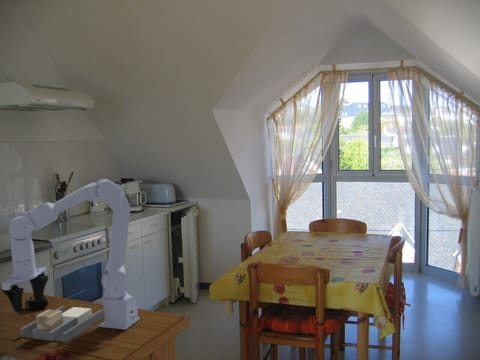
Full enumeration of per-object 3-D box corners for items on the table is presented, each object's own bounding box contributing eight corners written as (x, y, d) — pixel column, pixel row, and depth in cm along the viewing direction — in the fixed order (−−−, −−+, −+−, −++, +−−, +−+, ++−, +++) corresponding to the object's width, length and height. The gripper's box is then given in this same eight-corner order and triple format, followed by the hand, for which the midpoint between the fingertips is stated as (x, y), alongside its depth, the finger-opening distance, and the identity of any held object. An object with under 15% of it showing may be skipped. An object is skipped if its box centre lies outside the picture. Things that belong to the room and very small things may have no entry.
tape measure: (48, 308, 161) (47, 298, 160) (26, 313, 157) (25, 302, 157) (46, 302, 167) (45, 292, 166) (25, 306, 163) (24, 296, 163)
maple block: (63, 323, 140) (62, 310, 140) (51, 330, 135) (50, 317, 135) (49, 322, 142) (48, 309, 141) (37, 329, 137) (36, 315, 137)
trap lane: (104, 317, 150) (103, 309, 150) (65, 342, 133) (64, 334, 133) (62, 313, 155) (62, 305, 155) (20, 337, 138) (19, 328, 138)
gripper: (32, 252, 141) (36, 296, 142) (-9, 266, 127) (-4, 314, 129) (50, 253, 138) (55, 297, 140) (11, 267, 125) (16, 317, 126)
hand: (28, 306), depth 134 cm, fingers open, 7 cm apart
